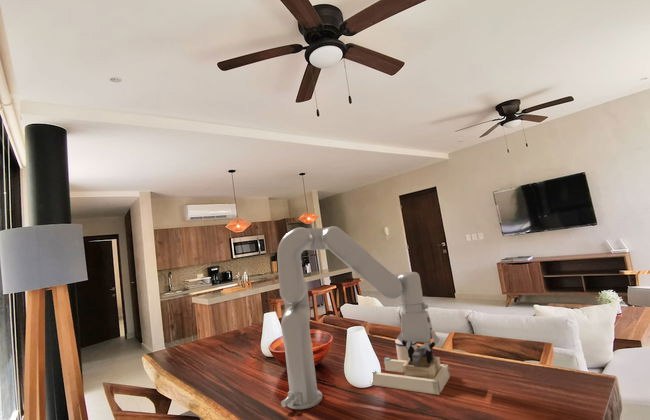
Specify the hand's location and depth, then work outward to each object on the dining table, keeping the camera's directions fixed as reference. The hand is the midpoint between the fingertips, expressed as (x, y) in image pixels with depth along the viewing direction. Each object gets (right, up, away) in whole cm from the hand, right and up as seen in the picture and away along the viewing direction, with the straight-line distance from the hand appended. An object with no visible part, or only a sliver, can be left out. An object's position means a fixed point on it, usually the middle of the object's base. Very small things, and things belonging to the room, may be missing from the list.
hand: (421, 360), depth 115 cm
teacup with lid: (+2, -11, +22) cm, 24 cm away
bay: (-3, -9, +2) cm, 10 cm away
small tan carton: (+1, -7, -1) cm, 7 cm away
